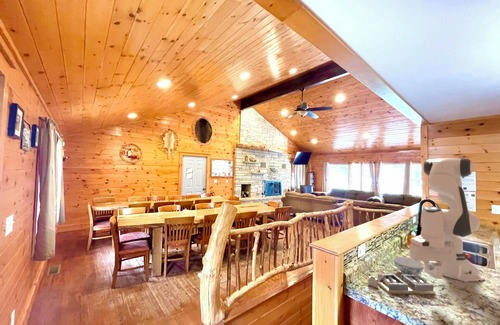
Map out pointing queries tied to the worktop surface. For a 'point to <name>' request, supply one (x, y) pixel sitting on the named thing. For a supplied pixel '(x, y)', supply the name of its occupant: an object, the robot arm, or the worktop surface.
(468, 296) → the worktop surface
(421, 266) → the chinaware
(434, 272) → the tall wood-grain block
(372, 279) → the lighter
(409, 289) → the metal roller rack
